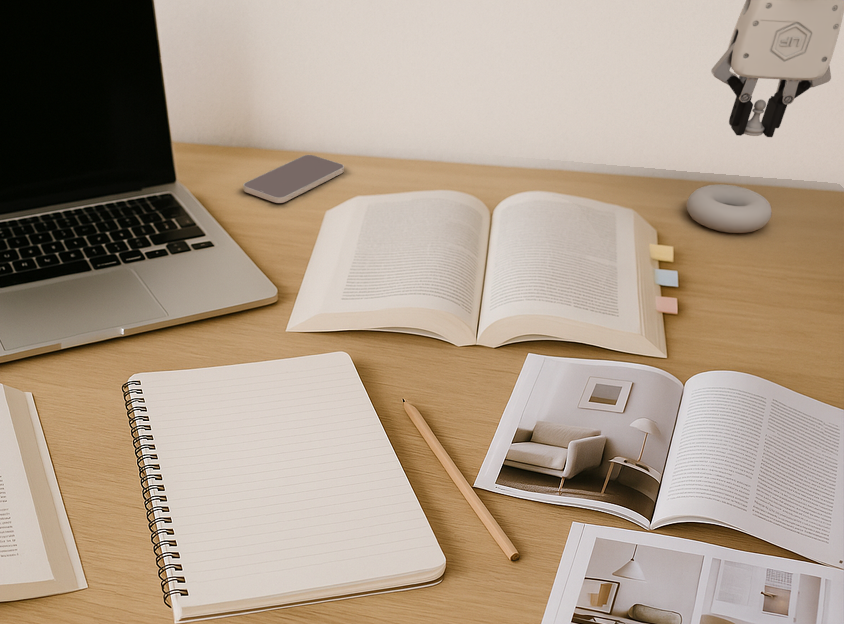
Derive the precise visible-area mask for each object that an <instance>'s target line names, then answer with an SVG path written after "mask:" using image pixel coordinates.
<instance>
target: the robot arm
mask: <svg viewBox="0 0 844 624" xmlns="http://www.w3.org/2000/svg"><path fill="white" fill-rule="evenodd" d="M843 18H844V0H745V2H744V4H743V6H742V9H741V11H740V13H739V15H738V18H737V21H736V24H735V27H734V29H733V32H732V34H731V37H730V40H729V44H728V46H727V50H726V51H725V52H724V53H723V54H722V56H721V57H720V58H719V60H717V62H716V63H715V64H714V66H713V67H712V68H711V71H710V72H711V74H712V76H713V77H714V78H716V79H717V80H719V81H721V82H722V83H724V84H726V85H728V86H729V87H730V89H731V90H732V92H733V93H734V94H735V100H734V103H733V106H732V110H731V112H730V115H729V120H728V124H729V126H730V127H731V130H732V131H733V133H734V134H735V135H736V136H739V137H741V136H743V135H745V134H744V132H745V129H746V126H747V123H748V121H749V120H750V117H751V113H752V112H753V111H752V110H753V108H754V103H753V102H752V99H753V93H754V91H755V89H756V86H757V83H758V80H759V79H765V80H778V84H777V86H776V91H775V93H774V95H771V96H770V97H769V98H768V100H767V103H766V107H765V108H764V112H763V116H762V118H761V121H760V122H761V123H762V126H764V128H765V129H764V131H763V135H764V136H765V137H766V138H773V137H774V134H775V131H776V129H780V127H781V124H782V122H783V120H784V119H783V118H784V115H785V113H786V110H787V107H788V106H789V105H791V104H792V103H793V102H794V101H795V99H796V98H797V97H799V96H801V95H802V94H804V93H806V92H807V91H808V90H809V89H810V88H816V87H819V86H821V85H823V84H826V83H829V82H830V81H831V79H832V74H831V68H830V64H831V61H832V59H833V58H832V57H833V55H834V52H835V48H836V45H837V42H838V38H839V34H840V31H841V26H842V22H843ZM730 69H731V70H732V71H733V72H732V71H731V70H730Z"/></svg>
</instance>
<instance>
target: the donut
mask: <svg viewBox="0 0 844 624" xmlns="http://www.w3.org/2000/svg"><path fill="white" fill-rule="evenodd" d="M771 205H772V204H771V203H770V202H769V201H768V199H767V198H766V197H765V196H763V195H761V194H760V193H758V192H756V191H755V190H752V189H749V188H746V187H743V186H739V185H734V184H733V185H732V184H720V183H719V184H707V185H704V186H702V187H699V188H697V189H695V190H694V191H693V192H692V193H691V194H690V195H689V196H688V198H687V202H686V210H687V213H688V215H689V216H690V217H691V219H692V220H693V221H695V222H696V223H698V224H699V225H701V226H704V227H705V228H708V229H711V230H715V231H718V232H721V233H728V234H729V233H730V234H732V233H733V234H745V233H753V232H755V231H757V230H760V229H762V228H764V227H765V226H766V225H767V224H768V223H769V222H770V220H771V218H772V214H773V213H772V206H771Z"/></svg>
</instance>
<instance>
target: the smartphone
mask: <svg viewBox="0 0 844 624" xmlns="http://www.w3.org/2000/svg"><path fill="white" fill-rule="evenodd" d="M344 172H345V165H344V164H342V163H341V162H340V163H339V162H336V161H333V160H330V159H327V158H325V157H320V156H317V155H313V154H305V155H302V156H299V157H298V158H295V159H294V160H291V161H288V162H287V163H284V164H282V165H280V166H278V167H276V168H274V169H271V170H269V171H267V172H265V173H263V174H261V175H258V176H256V177H254V178H252V179H250V180H248V181H246V182H244V183H243V185H242V186H243V187H242V188H243V192H245V193H247V194H250V195H252V196H256V197H259V198H261V199H264V200H265V201H269V202H272V203H276V204H283V203H286V202H288V201H290V200H291V199H294V198H296V197H297V196H300V195H302V194H304V193H306V192H309V190H312V189H314V188H316V187H319V186H320V185H321V184H324V183H325V182H328V181H330V180H331V179H333V178H335V177H337V176H339V175H341V174H343V173H344Z"/></svg>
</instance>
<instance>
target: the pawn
mask: <svg viewBox="0 0 844 624" xmlns="http://www.w3.org/2000/svg"><path fill="white" fill-rule="evenodd" d="M766 106H767V103H766V100H764V99H758V100H756V101H755V102H754V103H753V108H752V111H751V112H753V115H752V117H751V118H749V120H748V123H747V126H746V129H745V132H744V134H743V135H746V136H751V137H760V136H762V135H764V133H763V131H764V129H765V128H764V126H762V123H761V121H760V119H761V118H760V117H761V114H764V112H765V109H766Z"/></svg>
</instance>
